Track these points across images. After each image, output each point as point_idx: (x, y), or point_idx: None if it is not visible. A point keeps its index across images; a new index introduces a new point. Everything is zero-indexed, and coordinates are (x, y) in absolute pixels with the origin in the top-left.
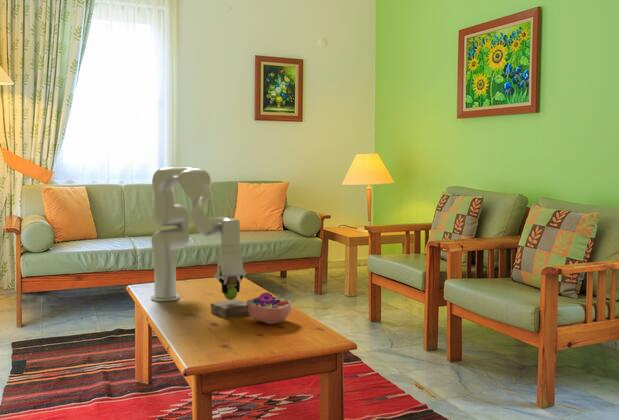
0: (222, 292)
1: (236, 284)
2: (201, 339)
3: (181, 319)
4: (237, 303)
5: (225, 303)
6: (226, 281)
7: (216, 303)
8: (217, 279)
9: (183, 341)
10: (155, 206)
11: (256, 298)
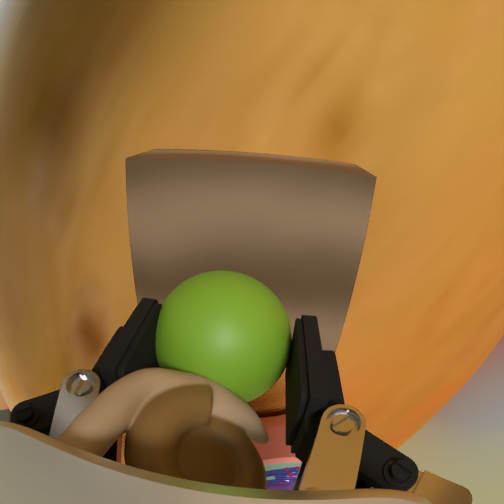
0: (144, 301)
1: (262, 441)
2: (39, 395)
3: (5, 183)
4: (289, 296)
5: (215, 238)
6: (118, 453)
7: (157, 190)
8: (10, 413)
9: (7, 375)
10: None
11: (273, 476)
